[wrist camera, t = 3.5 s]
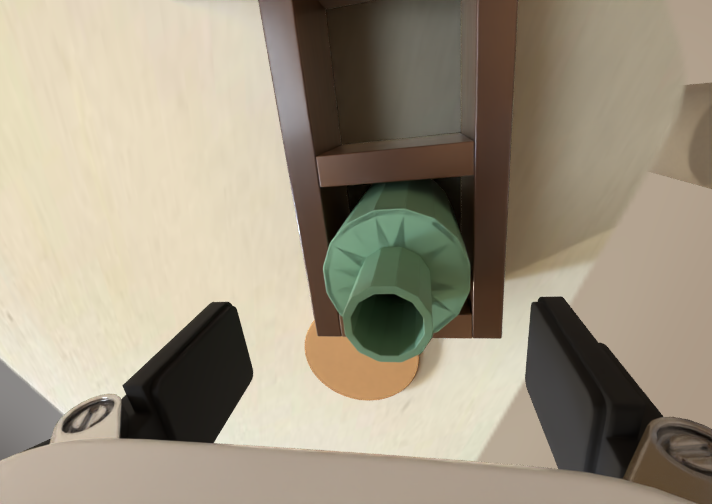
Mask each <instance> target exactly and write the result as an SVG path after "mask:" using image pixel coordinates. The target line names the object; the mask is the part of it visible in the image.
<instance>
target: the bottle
mask: <svg viewBox="0 0 712 504" xmlns="http://www.w3.org/2000/svg"><path fill="white" fill-rule="evenodd" d="M323 273H324V279H325V285H326V292H327V294H328V296H329V298H330V299H331V301H332V303H333V304H334V306H335V308H336V309H337V311H338V312H339V314H340V315H341V316H342V317H343V324H344V331H345V335H346V337H347V338H348V340H349V341H350V342H351V343H352V345H353V346H354V347H355V348H356V350H357V351H358V352H359V353H361V354H364V355H366V356H368V357H370V358H372V359H374V360H376V361H379V362H404V361H406V360H408V359H410V358H413V357H415V356H417V355H419V354H421V353H422V352H423V350H424V349H425V347H426V346H427V344H428V343H429V341H430V340H431V338H432V337H433V333H436V332H438V331H440V330H441V329H442V328H443V327H444V326H446V325H447V324H448V323H449V322H450V321H452V320H453V319H454V318H455V317H456V316H458V314H459V313H460V311H461V309H462V306H463V304H464V302H465V300H466V298H467V296H468V294H469V292H470V261H469V258H468V255H467V252H466V249H465V245H464V242H463V239H462V236H461V233H460V229H459V226H458V223H457V220H456V217H455V213H454V210H453V207H452V205H451V203H450V201H449V198H448V197H447V195H446V192H445V191H444V190H443V189H442V188H441V187H440V186H439V185H438V184H437V183H436V182H435V181H433V180H432V179H422V180H409V181H396V182H383V183H373V184H372V185H371V186H370V187H369V189H368V190H367V191H366V192H365V194H364V195H363V196H362V197H361V199H360V200H359V202H358V203H357V204H356V206H355V207H354V209H353V210H352V212H351V213H350V215H349V216H348V218H347V219H346V220H345V222H344V223H343V225H342V226H341V228H340V229H339V231H338V232H337V234H336V235H335V237H334V238H333V239H332V241H331V242H330V244H329V248H328V251H327V255H326V259H325V262H324V266H323Z"/></svg>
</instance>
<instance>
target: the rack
mask: <svg viewBox="0 0 712 504" xmlns="http://www.w3.org/2000/svg"><path fill="white" fill-rule="evenodd" d="M370 1H376V0H258V2H259V7H260V13H261V19H262V25H263V30H264V36H265V42H266V47H267V53H268V59H269V64H270V70H271V76H272V81H273V87H274V93H275V98H276V104H277V110H278V115H279V121H280V127H281V132H282V138H283V144H284V149H285V155H286V161H287V166H288V172H289V178H290V183H291V189H292V195H293V201H294V206H295V212H296V218H297V223H298V229H299V235H300V240H301V246H302V252H303V257H304V263H305V269H306V274H307V280H308V286H309V291H310V297H311V303H312V308H313V314H314V320H315V325H316V331H317V336H325V337H341V336H342V337H346V335H345V331H344V324H343V317H342V316H341V315H340V314H339V312H338V311H337V309H336V308H335V306H334V304H333V303H332V301H331V299H330V298H329V296H328V294H327V292H326V285H325V279H324V273H323V266H324V262H325V259H326V255H327V251H328V248H329V244H330V242H331V241H332V239H333V238H334V237H335V235H336V234H337V232H338V231H339V229H340V228H341V226H342V225H343V223H344V222H345V220H346V219H347V218H348V216H349V215H350V212H349V203H348V195H347V186H346V185H357V184H370V183H383V182H396V181H409V180H422V179H435V178H448V177H460V176H461V236H462V239H463V242H464V245H465V249H466V252H467V255H468V258H469V261H470V292H469V294H468V296H467V298H466V300H465V302H464V304H463V306H462V309H461V311H460V313H459V314H458V316H456V317H455V318H454V319H453V320H452V321H450V322H449V323H448V324H447V325H446V326H444V327H443V328H442V329H441V330H440V331H438V332H436V333H433V337H432V338H472V337H473V338H501V337H502V319H503V299H504V278H505V258H506V237H507V217H508V196H509V175H510V155H511V134H512V114H513V93H514V73H515V52H516V32H517V11H518V0H461V133H451V134H441V135H431V136H421V137H411V138H402V139H392V140H382V141H372V142H362V143H352V144H343V145H342V144H341V136H340V127H339V119H338V111H337V102H336V94H335V85H334V77H333V69H332V60H331V52H330V43H329V35H328V26H327V18H326V10H325V9H332V8H338V7H343V6H348V5H354V4H359V3H365V2H370Z"/></svg>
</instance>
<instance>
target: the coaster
mask: <svg viewBox="0 0 712 504" xmlns="http://www.w3.org/2000/svg"><path fill="white" fill-rule="evenodd" d="M305 355H306V358H307V361H308V364H309V366H310V368H311V370H312V371H313V373H314V374H315V375H316V377H317V378H318V379H319V380H320V381H321V382H322V383H323V384H325V385H326V386H327V387H329V388H330V389H332V390H333V391H335V392H337V393H339V394H341V395H344V396H346V397H350V398H353V399H358V400H380V399H384V398H388V397H391V396H393V395H395V394H397V393H399V392H400V391H402V390H403V389H404V388H406V387H407V386H408V385H409V384H410V382H411V381H412V380H413V378H414V376H415V374H416V372H417V369H418V364H419V355H417V356H415V357H413V358H410V359H408V360H406V361H404V362H379V361H376V360H374V359H372V358H370V357H368V356H366V355H364V354H361V353H359V352H358V351H357V350H356V348H355V347H354V346H353V345H352V343H351V342H350V341H349V340H348V338H347V337H342V336H341V337H325V336H317V331H316V325H315V320H314V321H313V322H312V324H311V326H310V328H309V330H308V332H307V335H306V339H305Z"/></svg>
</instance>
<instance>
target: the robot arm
mask: <svg viewBox="0 0 712 504" xmlns="http://www.w3.org/2000/svg"><path fill="white" fill-rule="evenodd" d="M252 377H253V368H252V364H251V361H250V357H249V353H248V349H247V346H246V342H245V338H244V334H243V331H242V327H241V323H240V319H239V316H238V312H237V309H236V307H234V306H232V304H231V303H229V302H212V303H210V304H209V305H208V306H207V307H206V308H205V309H204V310H203V311H202V312H201V313H199V314H198V315H197V316H196V317H195V318H194V319H193V320H192V321H191V322H190V323H189V324H188V325H187V326H186V327H185V328H183V329H182V330H181V331H180V332H179V333H178V334H177V335H176V336H175V337H174V338H173V339H172V340H171V341H170V342H169V343H167V344H166V345H165V346H164V347H163V348H162V349H161V350H160V351H159V352H158V353H157V354H156V355H155V356H154V357H153V358H151V359H150V360H149V361H148V362H147V363H146V364H145V365H144V366H143V367H142V368H141V369H140V370H139V371H138V372H137V373H135V374H134V375H133V376H132V377H131V378H130V379H129V380H128V381H127V382H126V383H125V384H124V385H123V388H124V390H125V392H126V395H125V396H124V397H123V398H122V399H121V398H120V397H119V396H117V395H116V394H104V395H99V396H96V397H93V398H90V399H88V400H86V401H84V402H82V403H80V404H78V405H77V406H75V407H73V408H72V409H71V410H69V411H68V412H67V413H66V414H64V415H63V416H62V418H61V419H60V420H59V421H58V422H57V424H56V426H55V428H54V430H53V433H52V437H51V439H49V440H47V441H45V442H42V443H41V444H38V445H36V446H34V447H32V448H29V449H27V450H25V451H23V452H20V453H18V454H16V455H14V456H11V457H9V458H6V459H3V460H1V461H0V504H712V429H711V428H709V427H707V426H705V425H702V424H699V423H697V422H694V421H691V420H688V419H682V418H676V417H663V415H661V413H660V412H659V411H658V409H657V408H656V407H655V406H654V404H653V403H652V402H651V401H650V399H649V398H648V397H647V396H646V394H645V393H644V392H643V391H642V389H641V388H640V387H639V386H638V384H637V383H636V382H635V381H634V379H633V378H632V377H631V376H630V374H629V373H628V372H627V371H626V369H625V368H624V367H623V366H622V364H621V363H620V362H619V361H618V359H617V358H616V357H615V356H614V354H613V353H612V352H611V351H610V350H609V348H608V347H607V346H606V345H605V344H602V343H598V342H597V340H596V339H595V338H594V337H593V335H592V334H591V333H590V331H589V330H588V329H587V328H586V326H585V325H584V324H583V322H582V321H581V320H580V319H579V317H578V316H577V315H576V313H575V312H574V311H573V310H572V308H571V307H570V306H569V304H568V303H567V302H566V300H565V299H564V298H563V297H540V298H539V299H538V302H532V304H531V313H530V325H529V337H528V350H527V362H526V374H525V380H526V387H527V390H528V393H529V395H530V398H531V400H532V403H533V405H534V408H535V410H536V413H537V415H538V418H539V421H540V423H541V426H542V428H543V431H544V433H545V436H546V438H547V441H548V443H549V446H550V448H551V451H552V453H553V456H554V458H555V461H556V464H557V466H558V469H552V468H544V467H534V466H524V465H512V464H498V463H487V462H476V461H463V460H449V459H436V458H422V457H409V456H396V455H382V454H368V453H354V452H339V451H325V450H310V449H295V448H280V447H265V446H250V445H233V444H217V443H214V441H215V440H216V438H217V436H218V435H219V433H220V431H221V430H222V428H223V426H224V425H225V423H226V422H227V420H228V418H229V417H230V415H231V413H232V412H233V410H234V408H235V407H236V405H237V404H238V402H239V400H240V399H241V397H242V395H243V394H244V392H245V390H246V389H247V387H248V386H249V384H250V382H251V380H252Z"/></svg>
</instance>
